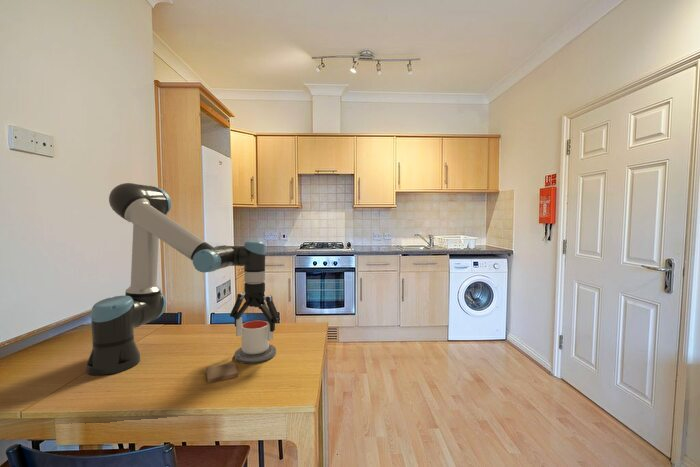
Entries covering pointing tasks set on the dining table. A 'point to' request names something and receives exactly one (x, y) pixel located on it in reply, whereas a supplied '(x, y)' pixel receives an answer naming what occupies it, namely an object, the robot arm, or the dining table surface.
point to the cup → (254, 337)
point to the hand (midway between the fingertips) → (254, 337)
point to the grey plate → (255, 356)
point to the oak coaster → (221, 372)
